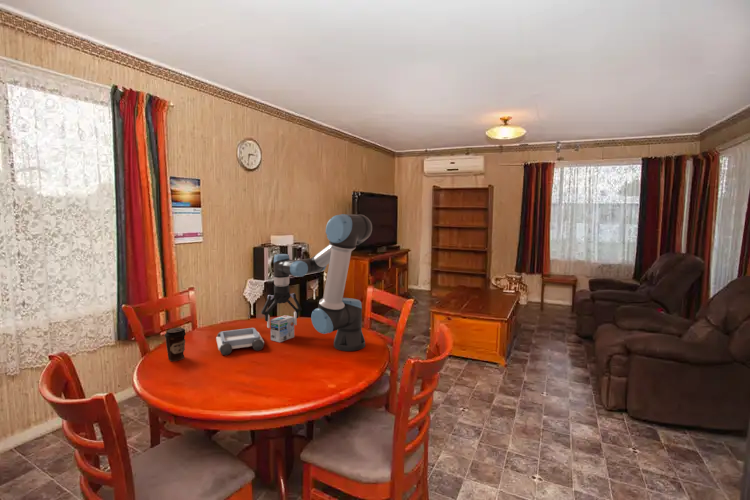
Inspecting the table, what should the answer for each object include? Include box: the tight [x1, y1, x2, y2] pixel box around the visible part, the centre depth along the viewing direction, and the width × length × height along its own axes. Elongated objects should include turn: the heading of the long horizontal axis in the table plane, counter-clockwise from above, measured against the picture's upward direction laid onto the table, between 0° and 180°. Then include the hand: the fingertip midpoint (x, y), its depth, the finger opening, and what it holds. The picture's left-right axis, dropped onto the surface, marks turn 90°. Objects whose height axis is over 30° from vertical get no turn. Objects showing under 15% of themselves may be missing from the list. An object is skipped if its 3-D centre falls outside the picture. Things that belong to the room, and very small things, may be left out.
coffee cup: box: [164, 327, 186, 362], centre depth 170 cm, size 9×8×13 cm
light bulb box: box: [270, 314, 295, 343], centre depth 198 cm, size 11×7×11 cm, turn 148°
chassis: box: [215, 327, 265, 356], centre depth 187 cm, size 21×20×6 cm
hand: (282, 325), depth 198 cm, fingers open, 13 cm apart
